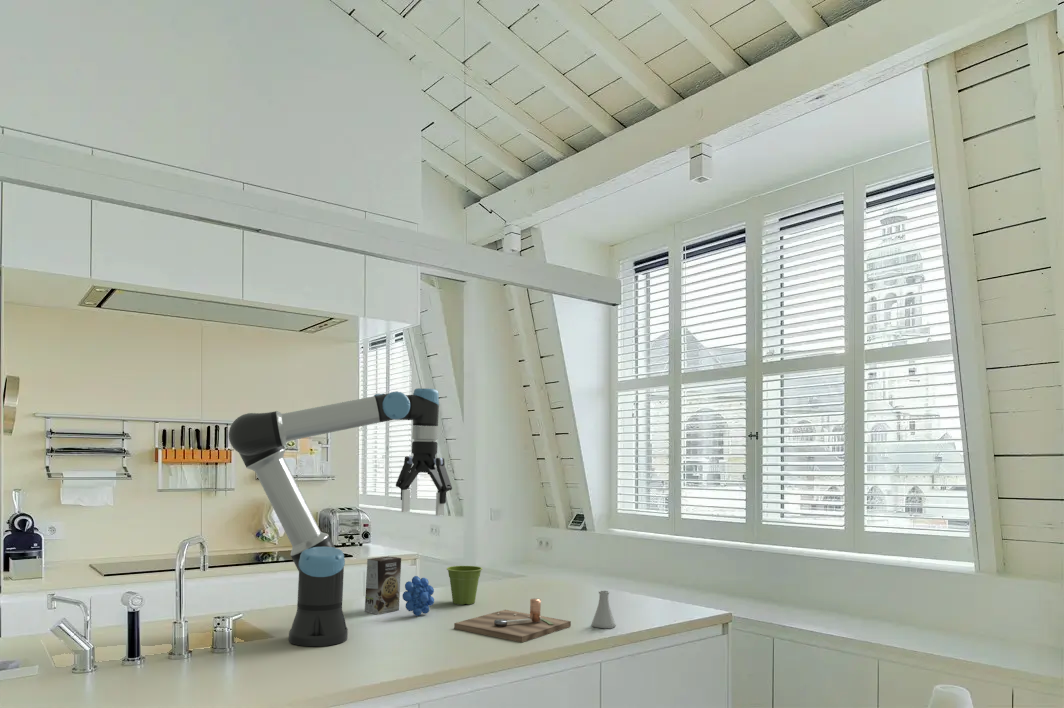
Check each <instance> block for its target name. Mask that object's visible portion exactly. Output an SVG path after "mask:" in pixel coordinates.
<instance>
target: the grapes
mask: <svg viewBox="0 0 1064 708" xmlns="http://www.w3.org/2000/svg"><path fill="white" fill-rule="evenodd" d="M429 584H430V583H429V579H427V578H426V577H421V578H420V577H419V576H418V575H414V576H413V577H412V578H411V580H410V581H409V580H408V581H406V582H405V584H404V588H405V591H403V593H402V599H403V601H405V602H406V603H405V608H406V611H408V612H412V613H413V615H414V616H416V617H420V616H421V614H425V615H426V614H428V613H429V612H430V607H431V606H434V603H435V598H434V597H433V596H432V595H434V592H435V590H434V587H433V586H432V585H431V584H430V585H429Z"/></svg>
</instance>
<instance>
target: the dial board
mask: <svg viewBox="0 0 1064 708" xmlns="http://www.w3.org/2000/svg"><path fill="white" fill-rule="evenodd" d="M529 618H530V613H527V612H521V611H515V610H509V609H503V610H500V611H499V610H498V611H495V612H492V613H488V614H484V615H480V616H475V617H473V618H472V617H471V618H469V619H465V620H461V621H456V622H454V625H453V626H454V627H453V628H454V629H453V630H460V631H464V632H469V633H474V634H479V635H485V636H489V637H494V638H498V639H503V640H509V641H513V642H518V643H524V642H528V641H531V640H533V639H537V638H540V637H542V636H545V635H550V634H553V633H555V632H558V631H561V630H564V629H567V628H570V627H571V622H572V621H570V620H567V619H566V620H565V619H561V618H554V617H548V616H543V615H540V618H542V621H540V622H525V623H514V624H507V625H505V626H496V625H494V620H498V619H503V620H507V621H508V620H519V619H529Z"/></svg>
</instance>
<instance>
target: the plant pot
mask: <svg viewBox="0 0 1064 708" xmlns="http://www.w3.org/2000/svg"><path fill="white" fill-rule="evenodd" d="M446 570H447V572H448V577H449V582H450V589H451V590H450V591H451V597H452V598H451V599H452V603H453V604H454V605H462V606H463V605H465V604H466V605H472V604H474V603H476V597H477V591H478V585H479V579H480V577H481V572H482V570H483V567H481V566H476V565H453V566H448V567H446Z"/></svg>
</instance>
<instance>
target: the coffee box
mask: <svg viewBox="0 0 1064 708" xmlns="http://www.w3.org/2000/svg"><path fill="white" fill-rule="evenodd" d="M401 569H402V557H396V556H382V557H372V558H367V562H366V577H365V578H366V581H365V596H364V597H365V600H364V612H367V613H371V614H375V615H382V614H386V613H391V612H396V611H399V610H400V601H401V600H400V599H401V598H400V596H401V576H402V575H401V574H402V573H401V572H402V570H401Z"/></svg>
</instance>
